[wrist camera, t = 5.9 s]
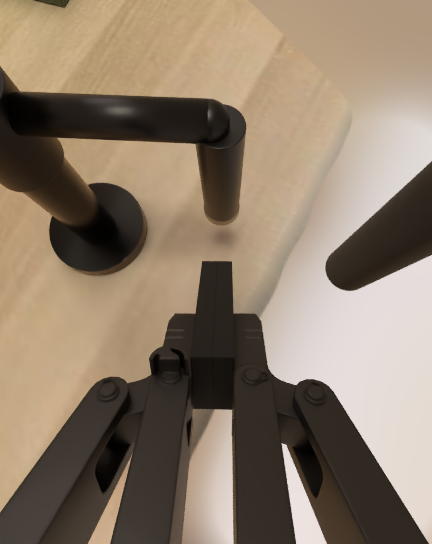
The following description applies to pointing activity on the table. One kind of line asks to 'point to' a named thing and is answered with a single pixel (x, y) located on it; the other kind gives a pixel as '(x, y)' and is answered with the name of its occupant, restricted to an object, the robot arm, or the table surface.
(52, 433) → the table surface
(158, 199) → the table surface
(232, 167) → the crank handle
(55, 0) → the control box
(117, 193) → the round black base
